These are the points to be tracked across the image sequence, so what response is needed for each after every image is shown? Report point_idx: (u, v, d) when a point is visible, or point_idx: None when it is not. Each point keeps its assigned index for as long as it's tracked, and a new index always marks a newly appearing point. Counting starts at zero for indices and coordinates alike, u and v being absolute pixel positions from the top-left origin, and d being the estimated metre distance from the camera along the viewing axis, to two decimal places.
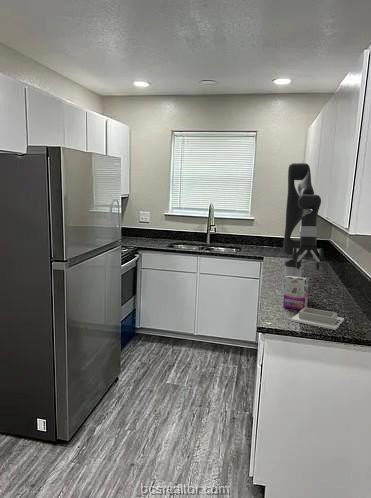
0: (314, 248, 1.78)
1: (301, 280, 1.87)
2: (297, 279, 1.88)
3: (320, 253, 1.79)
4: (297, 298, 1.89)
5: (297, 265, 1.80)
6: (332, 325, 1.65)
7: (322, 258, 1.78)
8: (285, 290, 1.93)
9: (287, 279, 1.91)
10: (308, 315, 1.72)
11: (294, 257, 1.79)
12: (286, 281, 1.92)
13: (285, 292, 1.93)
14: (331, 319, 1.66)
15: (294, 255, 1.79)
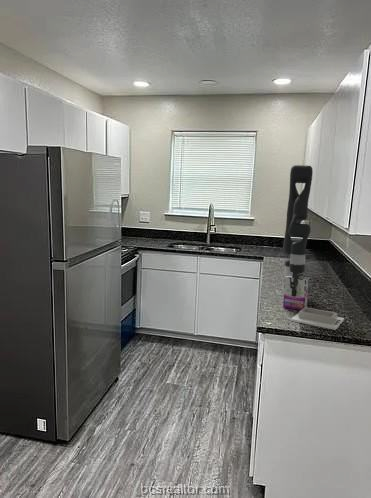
0: (300, 273, 1.92)
1: (301, 280, 1.87)
2: (297, 279, 1.88)
3: None
4: (297, 298, 1.89)
5: (295, 293, 1.89)
6: (332, 325, 1.65)
7: None
8: (285, 290, 1.93)
9: (287, 279, 1.91)
10: (308, 315, 1.72)
11: (295, 286, 1.87)
12: (286, 280, 1.92)
13: (285, 292, 1.93)
14: (331, 319, 1.66)
15: (295, 285, 1.86)
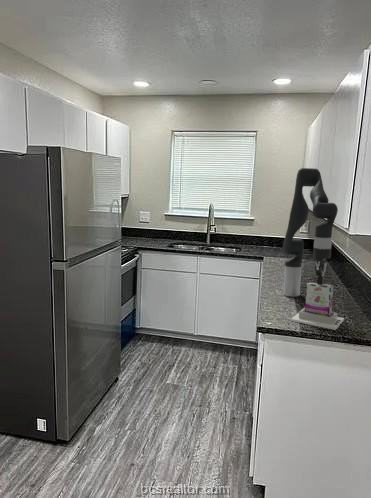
0: None
1: (325, 288, 1.68)
2: (321, 286, 1.70)
3: None
4: (320, 308, 1.71)
5: (321, 280, 1.70)
6: (332, 325, 1.65)
7: (325, 271, 1.72)
8: (307, 298, 1.74)
9: (309, 286, 1.72)
10: (308, 315, 1.72)
11: (322, 273, 1.68)
12: (308, 288, 1.73)
13: (307, 301, 1.74)
14: (331, 319, 1.66)
15: (321, 272, 1.67)
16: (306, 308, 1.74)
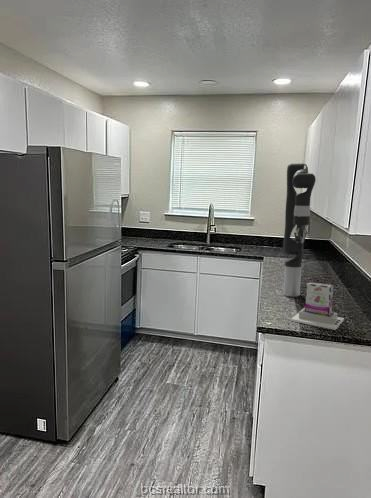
0: None
1: (325, 288, 1.68)
2: (321, 286, 1.70)
3: None
4: (320, 308, 1.71)
5: (300, 246, 1.83)
6: (332, 325, 1.65)
7: (304, 238, 1.85)
8: (307, 298, 1.74)
9: (309, 286, 1.72)
10: (308, 315, 1.72)
11: (301, 239, 1.81)
12: (308, 288, 1.73)
13: (307, 301, 1.74)
14: (331, 319, 1.66)
15: (300, 238, 1.80)
16: (306, 308, 1.74)
